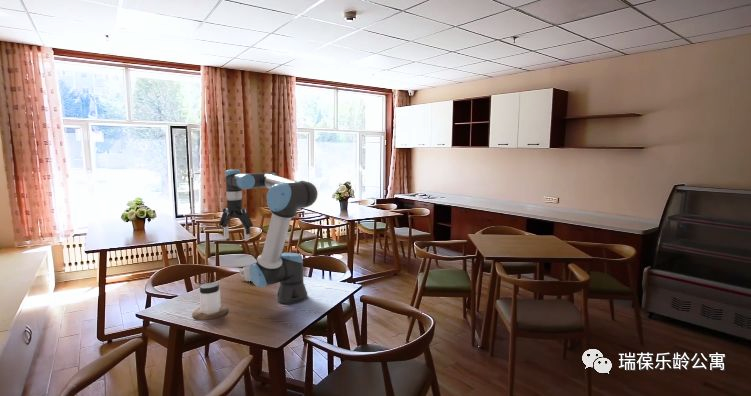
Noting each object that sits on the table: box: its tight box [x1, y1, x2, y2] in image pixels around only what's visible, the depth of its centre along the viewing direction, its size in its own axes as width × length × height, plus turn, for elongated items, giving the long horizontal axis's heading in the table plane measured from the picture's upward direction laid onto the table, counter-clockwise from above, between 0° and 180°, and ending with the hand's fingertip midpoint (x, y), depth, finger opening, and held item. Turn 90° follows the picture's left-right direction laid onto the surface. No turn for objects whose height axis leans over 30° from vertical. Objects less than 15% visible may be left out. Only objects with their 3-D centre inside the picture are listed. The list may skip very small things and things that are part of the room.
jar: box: [198, 282, 222, 314], centre depth 178 cm, size 9×8×12 cm
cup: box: [239, 265, 253, 282], centre depth 227 cm, size 11×8×8 cm
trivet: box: [192, 304, 229, 321], centre depth 179 cm, size 15×15×1 cm
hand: (236, 239), depth 203 cm, fingers open, 13 cm apart
